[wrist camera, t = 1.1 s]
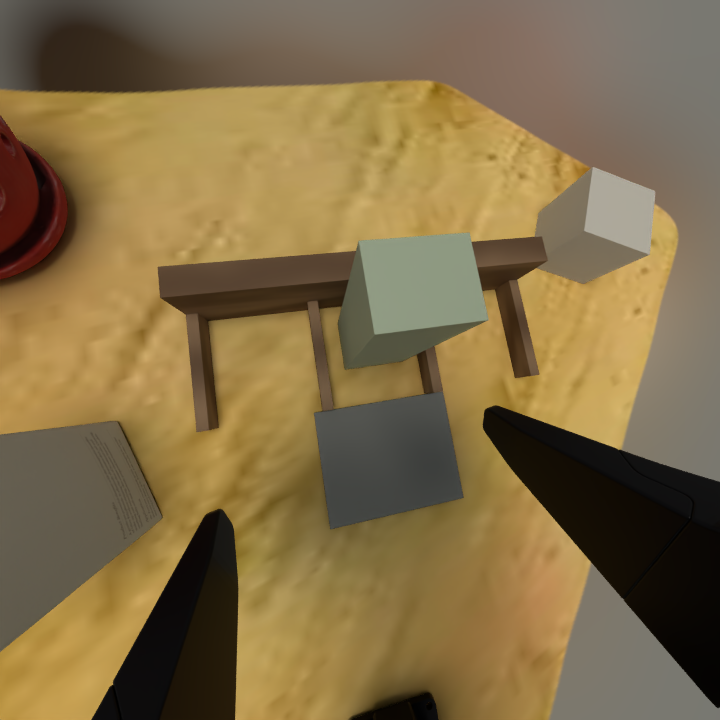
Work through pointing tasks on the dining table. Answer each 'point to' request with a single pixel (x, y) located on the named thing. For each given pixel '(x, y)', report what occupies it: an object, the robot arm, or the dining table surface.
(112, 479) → the skincare box
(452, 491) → the slate mat
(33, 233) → the plant pot
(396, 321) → the sage block
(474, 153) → the dining table surface
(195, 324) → the lane rack
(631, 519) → the robot arm
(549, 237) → the light grey cube
